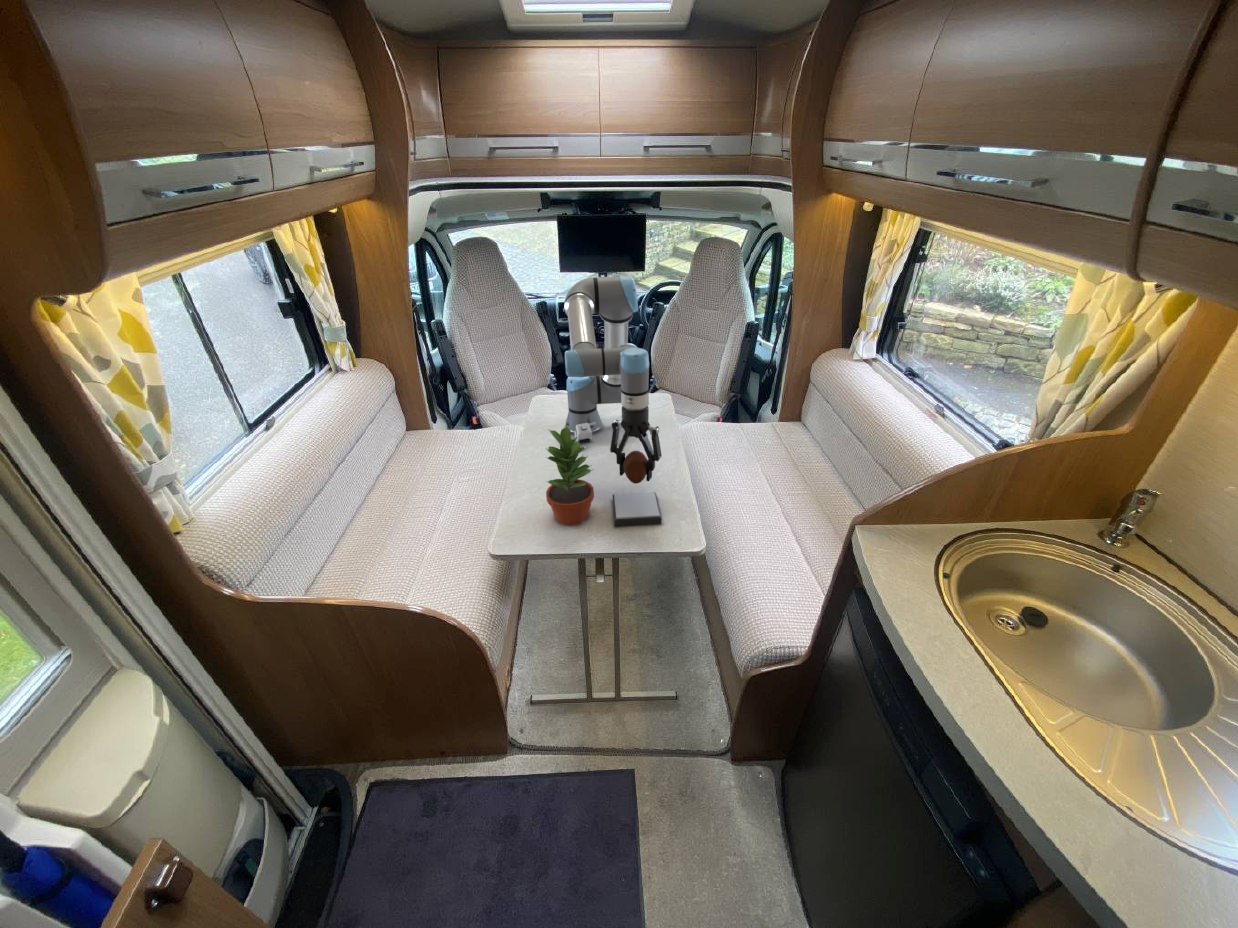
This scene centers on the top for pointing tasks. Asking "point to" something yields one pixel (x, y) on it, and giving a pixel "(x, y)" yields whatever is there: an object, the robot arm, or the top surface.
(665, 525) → the top surface
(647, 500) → the scale
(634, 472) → the potato
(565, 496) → the potted plant
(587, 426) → the tape dispenser
